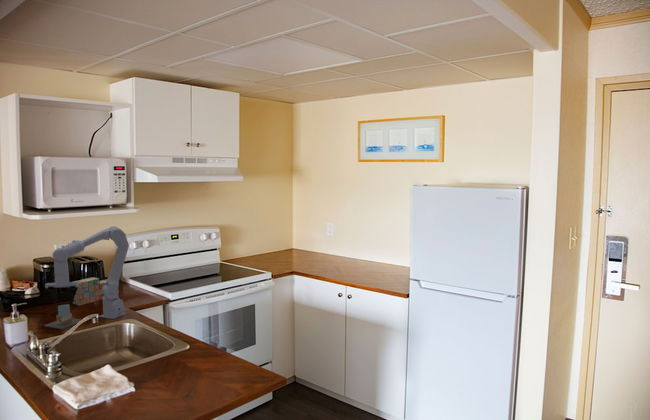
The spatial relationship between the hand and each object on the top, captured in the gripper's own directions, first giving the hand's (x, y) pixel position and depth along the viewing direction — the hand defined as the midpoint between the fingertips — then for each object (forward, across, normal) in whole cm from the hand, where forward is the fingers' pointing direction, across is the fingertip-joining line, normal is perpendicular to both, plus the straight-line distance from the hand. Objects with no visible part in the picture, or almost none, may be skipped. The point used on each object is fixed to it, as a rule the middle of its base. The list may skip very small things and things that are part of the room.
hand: (63, 302), depth 217 cm
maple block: (+10, 0, 0) cm, 10 cm away
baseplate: (+10, 0, 0) cm, 10 cm away
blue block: (+6, 0, 0) cm, 6 cm away
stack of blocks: (+11, +2, -39) cm, 41 cm away
